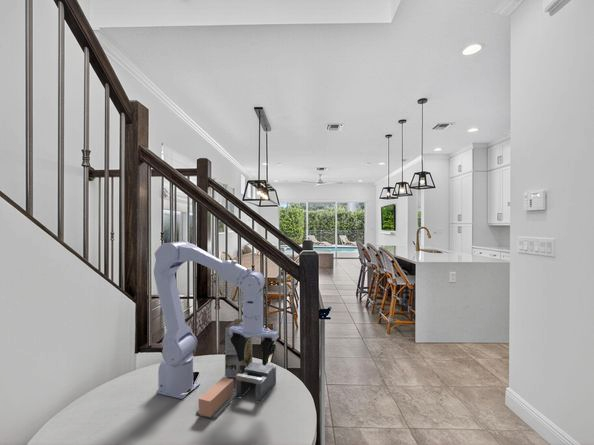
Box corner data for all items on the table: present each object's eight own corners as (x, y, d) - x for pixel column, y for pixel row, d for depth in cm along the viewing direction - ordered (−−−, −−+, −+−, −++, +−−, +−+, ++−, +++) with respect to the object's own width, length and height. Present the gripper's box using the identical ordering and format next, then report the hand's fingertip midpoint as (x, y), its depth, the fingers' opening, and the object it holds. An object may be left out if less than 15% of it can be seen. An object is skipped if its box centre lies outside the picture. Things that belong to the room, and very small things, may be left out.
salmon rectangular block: (198, 414, 77) (198, 398, 77) (222, 391, 88) (222, 377, 87) (210, 417, 76) (210, 401, 76) (233, 393, 86) (233, 379, 86)
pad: (196, 414, 78) (196, 412, 78) (221, 389, 89) (221, 387, 89) (215, 419, 76) (215, 416, 76) (239, 393, 87) (239, 391, 87)
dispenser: (236, 397, 86) (236, 375, 85) (253, 377, 96) (253, 358, 96) (260, 402, 83) (260, 380, 83) (276, 382, 94) (276, 362, 93)
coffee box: (243, 379, 95) (243, 328, 95) (224, 376, 97) (224, 327, 97) (253, 365, 104) (253, 319, 104) (235, 363, 106) (235, 318, 105)
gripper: (223, 316, 84) (223, 364, 84) (270, 321, 80) (270, 372, 80) (236, 309, 91) (236, 353, 91) (280, 313, 86) (280, 360, 87)
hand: (253, 361), depth 86 cm, fingers open, 7 cm apart
